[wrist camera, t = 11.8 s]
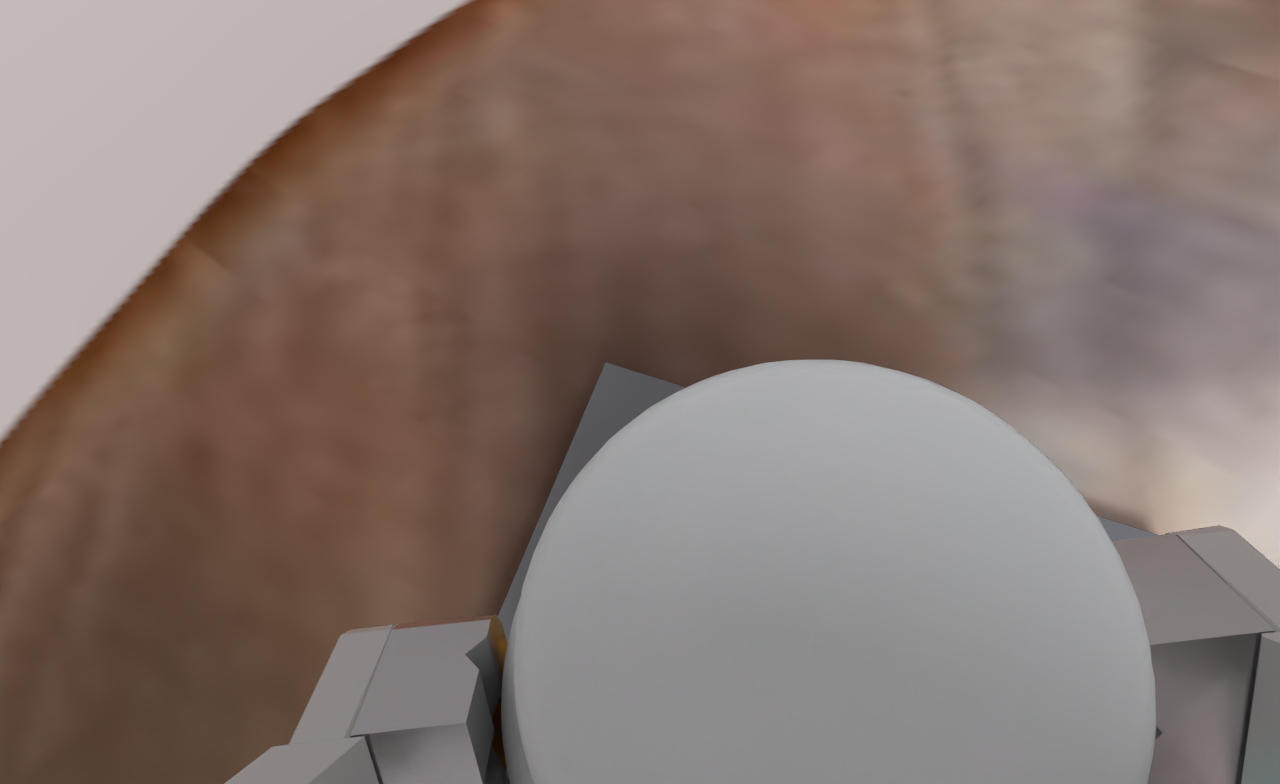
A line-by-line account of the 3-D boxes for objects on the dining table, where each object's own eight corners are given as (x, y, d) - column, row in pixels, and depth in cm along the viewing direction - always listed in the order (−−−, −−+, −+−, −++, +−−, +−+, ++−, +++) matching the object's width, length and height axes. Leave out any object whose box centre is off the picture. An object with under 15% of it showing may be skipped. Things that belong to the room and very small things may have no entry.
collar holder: (1027, 1252, 16) (1097, 1367, 13) (378, 933, 19) (304, 965, 16) (1161, 552, 20) (1239, 510, 17) (611, 378, 23) (589, 314, 20)
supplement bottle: (651, 970, 14) (498, 1337, 5) (556, 612, 16) (328, 398, 7) (1002, 854, 14) (1492, 997, 5) (863, 513, 16) (1030, 179, 7)
